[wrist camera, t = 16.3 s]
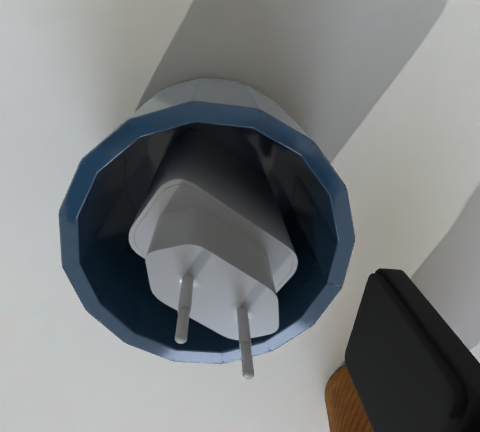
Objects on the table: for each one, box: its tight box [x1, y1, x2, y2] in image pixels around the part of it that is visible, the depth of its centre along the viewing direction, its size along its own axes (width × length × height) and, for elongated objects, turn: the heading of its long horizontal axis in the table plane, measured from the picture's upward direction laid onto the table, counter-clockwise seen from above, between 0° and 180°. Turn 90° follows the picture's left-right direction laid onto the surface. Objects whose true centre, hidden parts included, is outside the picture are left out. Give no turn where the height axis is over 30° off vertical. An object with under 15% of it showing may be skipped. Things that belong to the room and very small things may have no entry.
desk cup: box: [59, 78, 355, 364], centre depth 17 cm, size 10×10×8 cm
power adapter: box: [129, 130, 298, 379], centre depth 14 cm, size 3×5×12 cm, turn 53°
